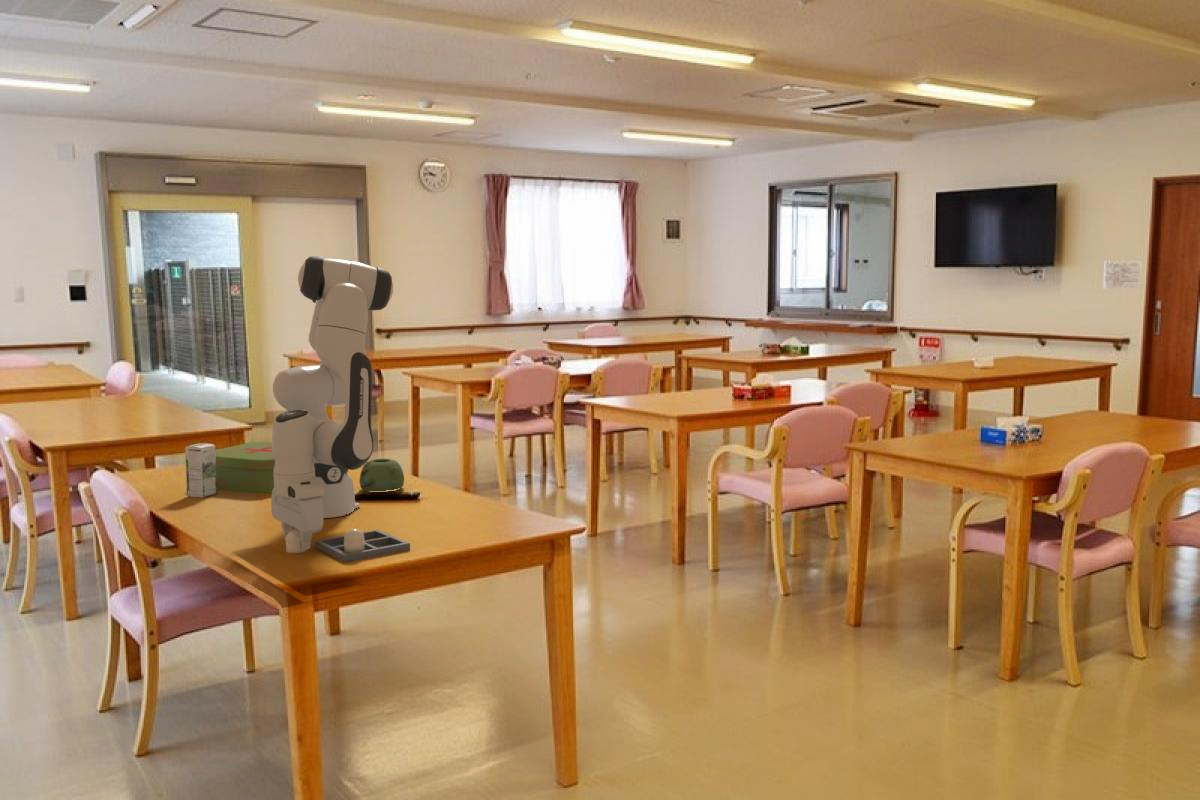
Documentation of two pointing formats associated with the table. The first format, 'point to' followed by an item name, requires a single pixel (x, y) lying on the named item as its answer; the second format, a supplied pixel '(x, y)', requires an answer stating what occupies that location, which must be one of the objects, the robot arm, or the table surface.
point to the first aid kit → (246, 468)
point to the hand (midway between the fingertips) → (297, 544)
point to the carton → (374, 546)
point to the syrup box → (201, 470)
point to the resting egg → (354, 541)
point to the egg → (294, 541)
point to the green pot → (381, 475)
